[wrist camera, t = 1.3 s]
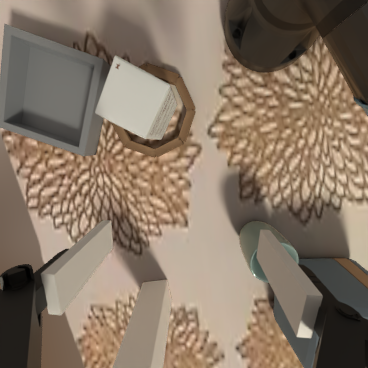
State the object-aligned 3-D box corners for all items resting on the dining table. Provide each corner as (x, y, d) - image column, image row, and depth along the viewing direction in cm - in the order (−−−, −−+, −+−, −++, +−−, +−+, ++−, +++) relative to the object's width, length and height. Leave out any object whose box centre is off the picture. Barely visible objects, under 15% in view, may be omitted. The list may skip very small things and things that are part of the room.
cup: (239, 213, 37) (255, 238, 28) (276, 218, 37) (305, 244, 28) (232, 246, 39) (245, 280, 30) (267, 250, 39) (292, 286, 29)
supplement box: (127, 123, 34) (91, 112, 22) (143, 85, 33) (113, 51, 20) (161, 141, 35) (145, 140, 23) (179, 105, 33) (171, 83, 21)
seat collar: (124, 57, 32) (121, 53, 30) (204, 86, 32) (204, 83, 31) (106, 139, 35) (102, 139, 34) (177, 164, 36) (177, 165, 34)
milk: (143, 281, 43) (91, 422, 21) (167, 278, 42) (140, 419, 21) (148, 302, 44) (105, 455, 22) (172, 300, 43) (151, 453, 22)
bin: (27, 38, 32) (4, 23, 28) (114, 69, 32) (103, 59, 28) (17, 127, 36) (-4, 126, 32) (95, 154, 36) (83, 156, 32)
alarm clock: (341, 315, 42) (427, 415, 27) (270, 314, 43) (313, 411, 28) (352, 253, 38) (459, 328, 23) (274, 254, 39) (326, 327, 24)
